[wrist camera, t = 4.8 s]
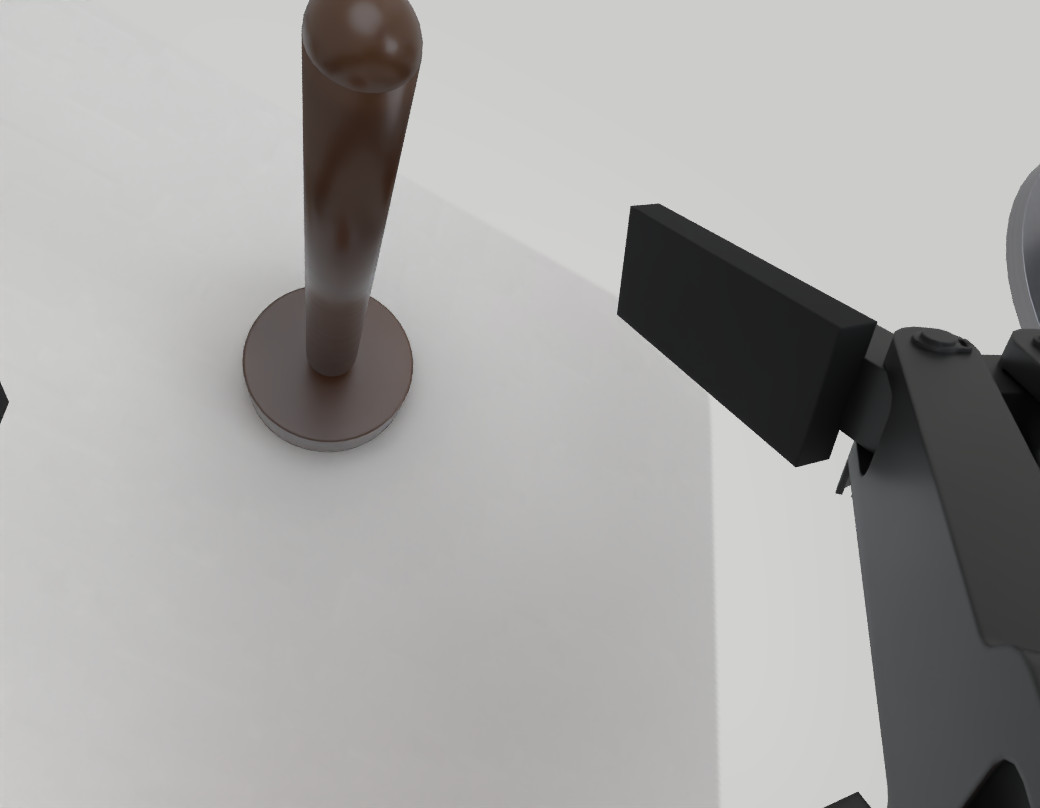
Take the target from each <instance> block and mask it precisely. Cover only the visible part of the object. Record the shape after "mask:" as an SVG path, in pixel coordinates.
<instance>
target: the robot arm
mask: <svg viewBox="0 0 1040 808" xmlns="http://www.w3.org/2000/svg"><path fill="white" fill-rule="evenodd" d="M628 224H629V225H628V232H627V239H626V247H625V256H624V263H623V271H622V279H621V287H620V295H619V303H618V311H617V315H618V316H619V317H621V318H622V319H623V320H624V321H625V322H626V323H628V324H629V325H630V326H631V327H632V328H633V329H635V330H636V331H637V332H638V333H639V334H640V335H642V336H643V337H644V338H645V339H646V340H647V341H649V342H650V343H651V344H652V345H653V346H655V347H656V348H657V349H658V350H659V351H660V352H662V353H663V354H664V355H665V356H666V357H667V358H669V359H670V360H671V361H672V362H673V363H674V364H676V365H677V366H678V367H679V368H680V369H681V370H683V371H684V372H685V373H686V374H687V375H688V376H690V377H691V378H692V379H693V380H694V381H695V382H697V383H698V384H699V385H700V386H701V387H702V388H704V389H705V390H706V391H707V392H708V393H709V394H711V395H712V396H713V397H714V398H715V399H716V400H718V401H719V402H720V403H721V404H722V405H723V406H725V407H726V408H727V409H728V410H729V411H730V412H732V413H733V414H734V415H735V416H736V417H737V418H739V419H740V420H741V421H742V422H743V423H744V424H746V425H747V426H748V427H749V428H750V429H752V430H753V431H754V432H755V433H756V434H757V435H759V436H760V437H761V438H762V439H763V440H764V441H766V442H767V443H768V444H769V445H770V446H771V447H773V448H774V449H775V450H776V451H777V452H779V453H780V454H781V455H782V456H783V457H784V458H786V459H787V460H788V461H789V462H790V463H791V464H793V465H794V466H795V467H799V466H803V465H807V464H811V463H815V462H818V461H823V460H827V459H829V458H830V455H831V452H832V449H833V446H834V443H835V441H836V438H837V435H838V432H839V430H841V431H842V432H844V433H845V434H846V435H848V436H849V437H850V438H852V439H853V440H854V443H853V446H852V448H851V451H850V454H849V456H848V459H847V462H846V465H845V467H844V470H843V473H842V475H841V478H840V481H839V483H838V486H837V490H836V493H837V494H842V493H843V491H844V488H845V487H847V486H849V485H851V490H852V496H851V497H852V499H853V506H854V515H855V523H856V531H857V540H858V548H859V556H860V564H861V572H862V581H863V589H864V597H865V605H866V613H867V622H868V629H869V638H870V646H871V655H872V663H873V671H874V679H875V686H876V695H877V704H878V712H879V720H880V728H881V737H882V745H883V753H884V761H885V769H886V778H887V785H888V806H887V808H1040V329H1019V330H1016V331H1013V333H1012V335H1011V337H1010V339H1009V341H1008V343H1007V345H1006V347H1005V350H1004V352H1003V354H1002V355H981V354H980V352H979V350H978V349H977V348H976V347H975V346H974V345H973V344H971V343H970V342H969V341H968V340H966V339H962V338H961V337H958V336H956V335H953V334H951V333H949V332H947V331H943V330H940V329H933V328H922V327H907V328H901V329H899V330H897V331H895V333H894V334H893V333H891V332H889V331H887V330H886V329H884V328H882V327H880V326H878V325H877V321H875V320H873V319H871V318H869V317H867V316H866V315H864V314H862V313H860V312H858V311H856V310H855V309H852V308H851V307H849V306H847V305H845V304H843V303H842V302H840V301H838V300H836V299H834V298H832V297H831V296H829V295H827V294H825V293H823V292H821V291H819V290H818V289H816V288H814V287H812V286H810V285H808V284H806V283H804V282H803V281H801V280H799V279H797V278H795V277H794V276H792V275H790V274H788V273H786V272H784V271H782V270H781V269H779V268H777V267H775V266H773V265H771V264H769V263H767V262H766V261H764V260H762V259H760V258H759V257H757V256H755V255H753V254H751V253H749V252H747V251H746V250H744V249H742V248H740V247H738V246H736V245H734V244H733V243H731V242H729V241H727V240H725V239H723V238H721V237H720V236H718V235H716V234H714V233H712V232H710V231H709V230H707V229H705V228H703V227H701V226H699V225H697V224H696V223H694V222H692V221H690V220H688V219H686V218H685V217H683V216H681V215H679V214H677V213H675V212H674V211H672V210H670V209H668V208H666V207H664V206H662V205H661V204H650V205H637V206H631V208H630V215H629V223H628ZM8 403H9V401H8V399H7V397H6V394H5V392H4V390H3V387H2V385H1V383H0V423H1V420H2V418H3V415H4V413H5V411H6V408H7V406H8ZM824 808H871V807H870V806H869V805H868V804H867V802H866V801H865V800H864V799H863V798H862V796H861V795H860V793H859V792H856V793H854V794H852V795H850V796H848V797H846V798H843V799H841V800H839V801H837V802H835V803H833V804H831V805H829V806H826V807H824Z"/></svg>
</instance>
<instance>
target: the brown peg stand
mask: <svg viewBox="0 0 1040 808" xmlns="http://www.w3.org/2000/svg"><path fill="white" fill-rule="evenodd" d="M422 45H423V41H422V34H421V29H420V24H419V21H418V18H417V16H416V14H415V12H414V10H413V8H412V6H411V5H410V3H409V1H408V0H309V3H308V5H307V7H306V10H305V13H304V17H303V24H302V86H303V87H302V89H303V90H302V92H303V165H304V237H305V287H304V288H301V289H297V290H294V291H292V292H290V293H287V294H285V295H283V296H282V297H280V298H278V299H277V300H275V301H274V302H273V303H271V304H270V305H269V306H268V307H267V308H266V309H265V310H264V311H263V312H262V313H261V314H260V315H259V316H258V318H257V319H256V320H255V322H254V324H253V325H252V327H251V329H250V331H249V333H248V336H247V338H246V341H245V346H244V350H243V374H244V378H245V382H246V386H247V389H248V392H249V395H250V398H251V400H252V403H253V405H254V408H255V409H256V411H257V413H258V415H259V416H260V418H261V419H262V420H263V422H264V423H265V424H266V425H267V426H268V427H269V428H270V429H271V430H272V431H273V432H274V433H276V434H277V435H278V436H279V437H281V438H282V439H284V440H286V441H288V442H289V443H291V444H294V445H296V446H299V447H301V448H305V449H309V450H314V451H321V452H334V451H343V450H347V449H352V448H355V447H357V446H360V445H363V444H364V443H366V442H368V441H370V440H372V439H373V438H375V437H376V436H378V435H379V434H380V433H381V432H382V431H383V430H385V429H386V428H387V427H388V425H389V424H390V423H391V422H392V421H393V419H394V418H395V416H396V414H397V413H398V411H399V409H400V407H401V406H402V404H403V402H404V400H405V398H406V396H407V393H408V391H409V388H410V384H411V381H412V374H413V358H412V351H411V347H410V343H409V340H408V338H407V335H406V333H405V331H404V329H403V328H402V326H401V324H400V323H399V321H398V320H397V319H396V317H395V316H394V315H393V314H392V313H391V312H390V311H389V310H388V309H387V308H386V307H385V306H384V305H382V304H381V303H380V302H379V301H377V300H375V299H374V298H372V297H370V293H371V289H372V284H373V279H374V275H375V270H376V266H377V261H378V257H379V252H380V247H381V243H382V238H383V234H384V229H385V224H386V220H387V215H388V211H389V206H390V202H391V197H392V192H393V188H394V183H395V179H396V174H397V169H398V165H399V160H400V156H401V151H402V146H403V142H404V137H405V133H406V128H407V123H408V119H409V114H410V109H411V105H412V101H413V96H414V92H415V87H416V82H417V78H418V73H419V68H420V64H421V59H422Z"/></svg>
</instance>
